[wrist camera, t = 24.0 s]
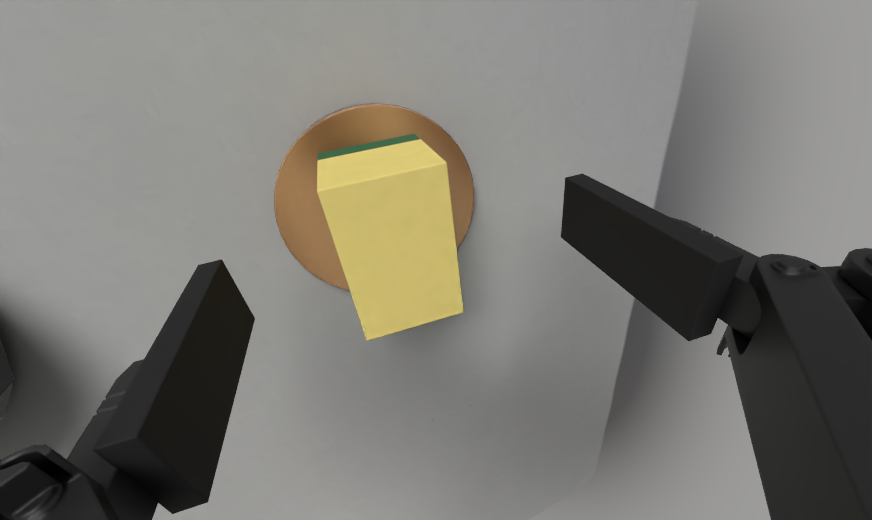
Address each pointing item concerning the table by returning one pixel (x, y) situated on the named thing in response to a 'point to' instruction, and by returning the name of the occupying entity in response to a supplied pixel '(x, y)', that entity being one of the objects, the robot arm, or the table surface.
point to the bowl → (4, 381)
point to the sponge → (392, 231)
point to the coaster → (349, 128)
